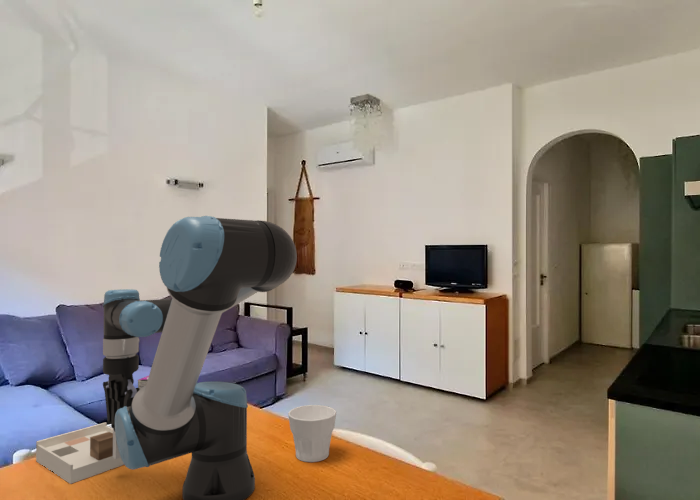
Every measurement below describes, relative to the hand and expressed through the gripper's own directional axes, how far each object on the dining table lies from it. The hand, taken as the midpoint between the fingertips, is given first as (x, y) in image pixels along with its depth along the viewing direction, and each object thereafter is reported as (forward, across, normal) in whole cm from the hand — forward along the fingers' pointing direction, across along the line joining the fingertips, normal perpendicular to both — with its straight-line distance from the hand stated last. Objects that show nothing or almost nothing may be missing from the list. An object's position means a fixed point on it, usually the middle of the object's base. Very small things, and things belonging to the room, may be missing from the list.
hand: (120, 456), depth 107 cm
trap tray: (+5, +15, 0) cm, 16 cm away
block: (+2, +8, 0) cm, 8 cm away
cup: (+5, -29, -36) cm, 46 cm away
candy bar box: (+5, +21, -22) cm, 31 cm away
